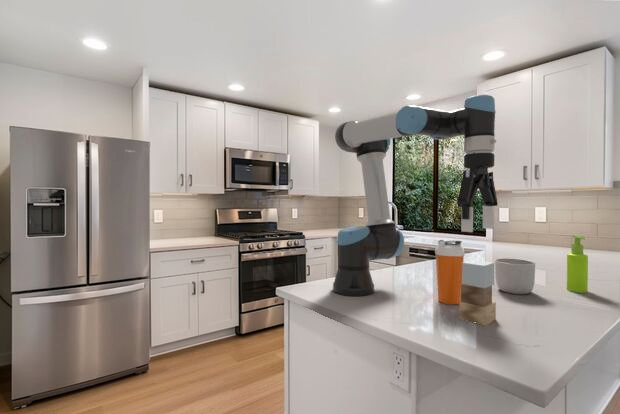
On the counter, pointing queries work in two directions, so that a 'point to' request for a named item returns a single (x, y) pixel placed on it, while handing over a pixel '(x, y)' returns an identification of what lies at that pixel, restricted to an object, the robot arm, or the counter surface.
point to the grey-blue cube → (478, 273)
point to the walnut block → (476, 295)
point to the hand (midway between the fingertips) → (478, 230)
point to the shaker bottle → (449, 271)
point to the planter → (515, 275)
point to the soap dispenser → (577, 268)
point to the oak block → (477, 312)
